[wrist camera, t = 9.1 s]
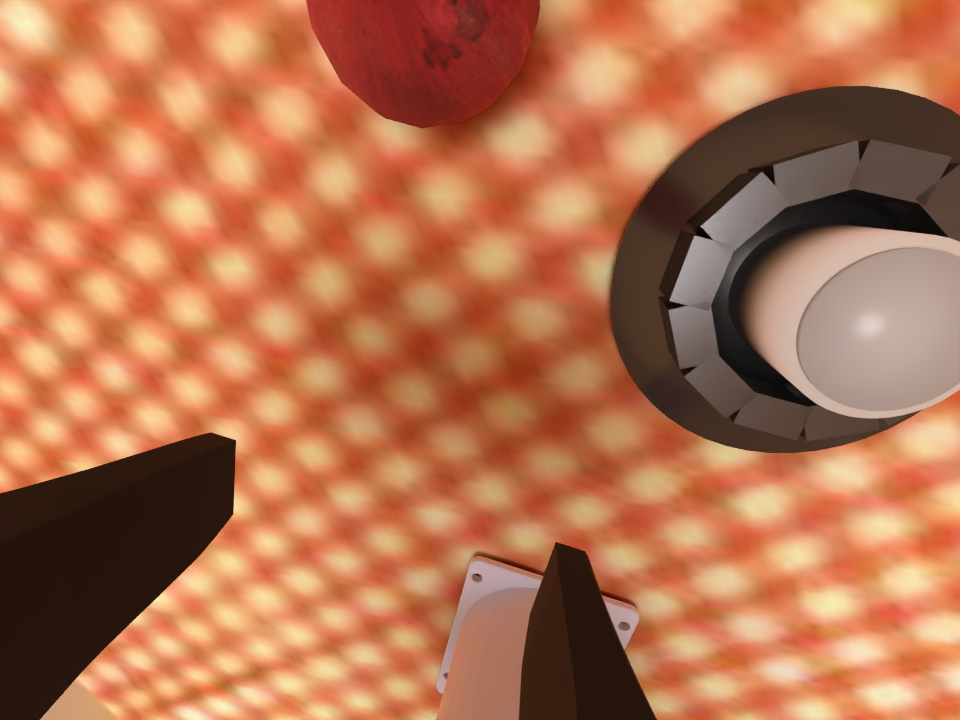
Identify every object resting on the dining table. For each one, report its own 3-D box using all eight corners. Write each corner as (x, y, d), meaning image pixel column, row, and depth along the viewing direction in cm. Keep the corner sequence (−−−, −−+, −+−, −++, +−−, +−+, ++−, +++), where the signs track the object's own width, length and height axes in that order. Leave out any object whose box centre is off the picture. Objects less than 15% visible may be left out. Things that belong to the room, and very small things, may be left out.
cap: (836, 378, 16) (933, 446, 12) (704, 336, 16) (751, 387, 12) (917, 246, 14) (1066, 270, 10) (769, 204, 15) (850, 208, 10)
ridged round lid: (881, 483, 18) (929, 529, 15) (569, 394, 19) (568, 424, 16) (1105, 139, 13) (1223, 127, 11) (681, 52, 14) (702, 24, 12)
